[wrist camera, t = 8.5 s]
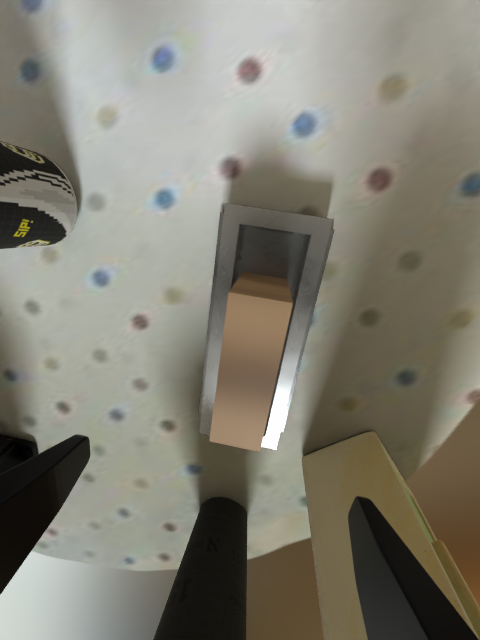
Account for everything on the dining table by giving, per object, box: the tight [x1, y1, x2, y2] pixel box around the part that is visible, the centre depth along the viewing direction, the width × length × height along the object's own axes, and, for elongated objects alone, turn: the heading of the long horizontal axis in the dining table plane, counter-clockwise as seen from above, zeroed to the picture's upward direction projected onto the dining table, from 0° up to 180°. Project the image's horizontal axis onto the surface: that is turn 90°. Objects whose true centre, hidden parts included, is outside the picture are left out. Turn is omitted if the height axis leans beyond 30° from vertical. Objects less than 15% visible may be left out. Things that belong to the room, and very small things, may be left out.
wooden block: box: [209, 272, 293, 452], centre depth 17 cm, size 9×3×6 cm, turn 172°
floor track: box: [199, 203, 334, 449], centre depth 19 cm, size 17×7×2 cm, turn 172°
